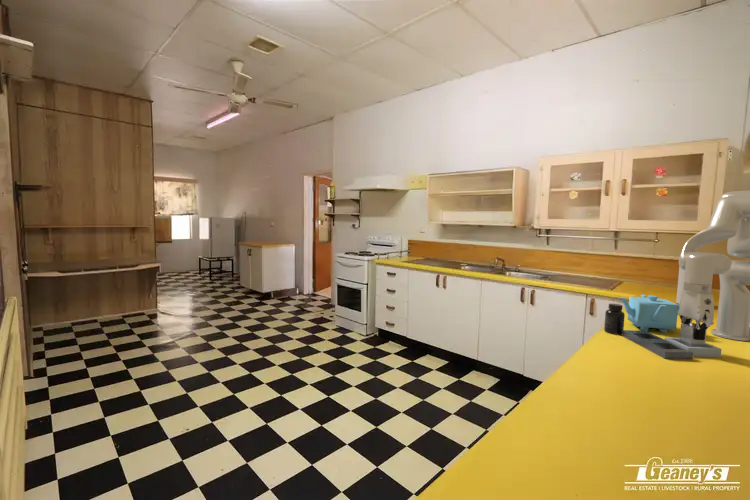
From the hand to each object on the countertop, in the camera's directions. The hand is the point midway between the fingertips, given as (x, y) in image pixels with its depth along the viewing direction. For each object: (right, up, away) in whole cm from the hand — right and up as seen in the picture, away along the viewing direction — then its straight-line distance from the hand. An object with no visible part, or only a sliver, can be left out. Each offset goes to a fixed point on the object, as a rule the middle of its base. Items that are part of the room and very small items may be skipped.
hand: (692, 336), depth 130 cm
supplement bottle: (-14, -4, +22) cm, 26 cm away
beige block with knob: (0, -3, 0) cm, 3 cm away
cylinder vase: (+65, 0, +73) cm, 98 cm away
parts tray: (0, -5, 0) cm, 5 cm away
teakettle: (+5, -3, +28) cm, 29 cm away
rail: (-11, -5, +4) cm, 13 cm away
